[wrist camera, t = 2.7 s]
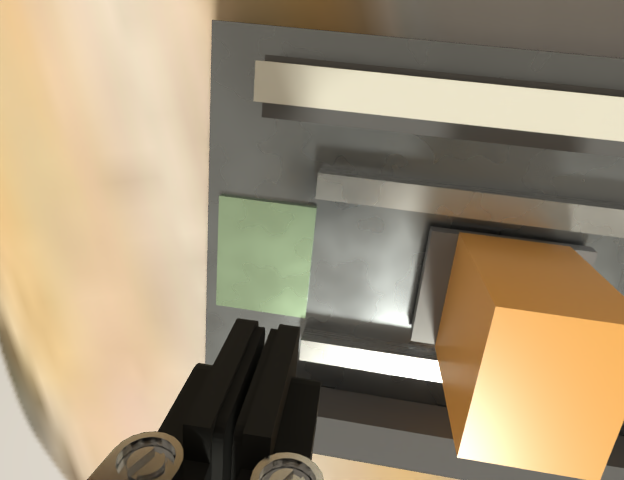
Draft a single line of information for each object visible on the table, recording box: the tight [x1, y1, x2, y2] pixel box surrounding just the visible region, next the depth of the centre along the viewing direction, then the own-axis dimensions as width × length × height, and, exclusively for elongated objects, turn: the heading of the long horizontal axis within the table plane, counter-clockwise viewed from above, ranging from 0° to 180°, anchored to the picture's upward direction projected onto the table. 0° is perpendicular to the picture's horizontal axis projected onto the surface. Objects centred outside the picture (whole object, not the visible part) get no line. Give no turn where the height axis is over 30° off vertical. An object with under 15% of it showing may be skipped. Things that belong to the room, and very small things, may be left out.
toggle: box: [410, 226, 624, 480], centre depth 16 cm, size 6×5×7 cm
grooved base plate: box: [253, 55, 624, 480], centre depth 18 cm, size 19×16×3 cm
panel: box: [205, 20, 624, 436], centre depth 20 cm, size 24×18×3 cm
